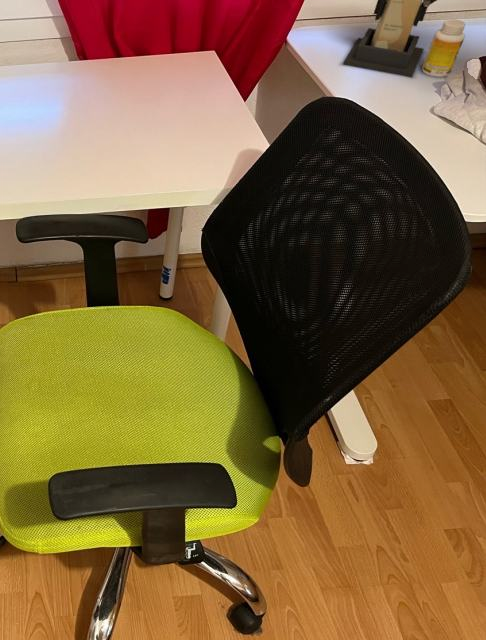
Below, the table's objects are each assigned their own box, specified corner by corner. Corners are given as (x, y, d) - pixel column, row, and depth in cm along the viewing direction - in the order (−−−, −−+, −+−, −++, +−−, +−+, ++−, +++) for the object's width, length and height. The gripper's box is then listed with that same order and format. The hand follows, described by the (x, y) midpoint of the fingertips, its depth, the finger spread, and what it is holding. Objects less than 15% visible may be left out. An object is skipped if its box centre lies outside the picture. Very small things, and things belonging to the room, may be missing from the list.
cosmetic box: (370, 57, 149) (389, -2, 140) (368, 49, 152) (387, -10, 143) (402, 59, 148) (423, -1, 139) (399, 50, 151) (420, -9, 142)
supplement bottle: (451, 79, 143) (472, 29, 136) (422, 77, 144) (442, 27, 137) (447, 67, 147) (467, 18, 139) (419, 65, 148) (438, 16, 141)
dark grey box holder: (422, 53, 152) (429, 34, 149) (411, 78, 144) (418, 59, 141) (356, 41, 157) (362, 23, 154) (342, 65, 149) (348, 47, 146)
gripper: (481, -75, 131) (443, 21, 144) (385, -85, 137) (357, 8, 150) (476, -64, 126) (438, 34, 139) (378, -74, 133) (350, 20, 146)
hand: (396, 20), depth 145 cm, fingers closed on cosmetic box, 7 cm apart
